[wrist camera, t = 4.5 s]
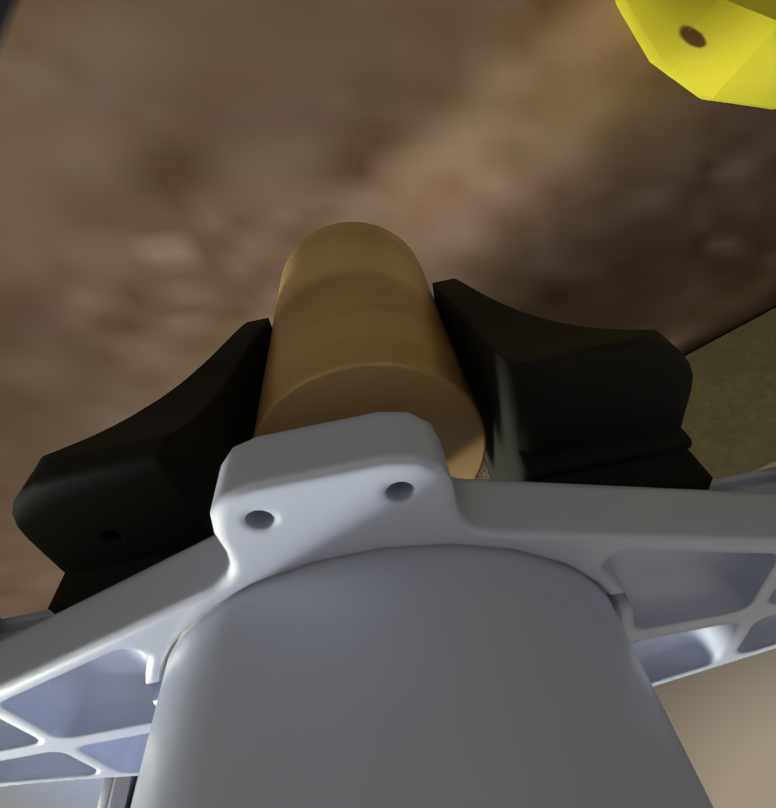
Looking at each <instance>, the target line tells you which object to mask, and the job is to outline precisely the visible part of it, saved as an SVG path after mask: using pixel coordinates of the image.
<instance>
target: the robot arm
mask: <svg viewBox="0 0 776 808" xmlns="http://www.w3.org/2000/svg"><path fill="white" fill-rule="evenodd" d="M433 291H434V299H435V303H436V305H437V308H438V310H439V313H440V315H441V318H442V320H443V323H444V325H445V328H446V330H447V333H448V335H449V337H450V340H451V342H452V345H453V347H454V350H455V352H456V355H457V357H458V360H459V362H460V365H461V367H462V370H463V372H464V374H465V377H466V379H467V382H468V384H469V387H470V389H471V392H472V394H473V397H474V399H475V402H476V404H477V406H478V409H479V411H480V414H481V417H482V419H483V422H484V425H485V431H486V450H485V455H484V460H485V463H486V466H487V469H488V473H489V476H490V479H491V480H479V479H458V478H455V477H452V476H451V475H450V473H449V470H448V466H447V463H446V459H445V456H444V452H443V448H442V445H441V441H440V439H439V438H438V436H437V434H436V432H435V431H434V429H433V427H432V425H431V423H429V422H427V421H425V420H423V419H421V418H419V417H417V416H415V415H413V414H411V413H409V412H375V413H370V414H365V415H360V416H355V417H350V418H345V419H340V420H336V421H331V422H326V423H321V424H316V425H311V426H306V427H301V428H297V429H292V430H287V431H282V432H277V433H272V434H267V435H262V436H258V437H255V438H253V434H254V429H255V423H256V418H257V412H258V406H259V401H260V395H261V389H262V384H263V378H264V372H265V367H266V361H267V356H268V350H269V344H270V339H271V333H272V327H271V324H270V321H269V319H268V318H266V319H261V320H256V321H251V322H247V323H245V324H244V325H243V326H242V327H241V328H239V329H238V330H237V331H236V332H235V333H234V334H233V335H232V336H231V337H230V338H229V339H228V340H227V341H226V342H225V343H224V344H223V345H222V346H221V347H220V348H219V349H218V350H217V351H216V352H215V353H214V354H213V355H212V356H211V357H210V358H209V359H208V360H207V361H206V362H205V363H204V364H203V365H202V366H201V367H199V368H198V369H197V370H196V371H195V372H194V373H193V374H192V375H191V376H189V377H188V378H187V379H186V380H185V381H183V382H182V383H181V384H180V385H178V386H177V387H176V388H174V389H173V390H172V391H170V392H169V393H167V394H166V395H165V396H163V397H162V398H160V399H159V400H157V401H156V402H154V403H152V404H151V405H149V406H148V407H146V408H144V409H143V410H141V411H139V412H138V413H136V414H135V415H133V416H131V417H129V418H128V419H126V420H124V421H122V422H120V423H118V424H116V425H114V426H112V427H110V428H108V429H106V430H104V431H102V432H100V433H98V434H96V435H94V436H92V437H89V438H87V439H85V440H82V441H80V442H77V443H75V444H73V445H70V446H68V447H65V448H63V449H60V450H58V451H55V452H53V453H50V454H48V455H45V456H43V457H42V458H41V459H40V461H39V463H38V464H37V466H36V467H35V469H34V470H33V472H32V473H31V475H30V477H29V478H28V480H27V481H26V483H25V484H24V486H23V487H22V489H21V491H20V492H19V494H18V495H17V497H16V498H15V500H14V501H13V512H12V514H13V516H14V519H15V521H16V524H17V526H18V527H19V529H20V530H21V531H22V532H23V533H24V535H25V536H26V537H27V538H28V539H29V540H30V541H31V542H32V543H33V544H34V545H35V546H36V547H38V548H39V549H40V550H41V551H42V552H43V553H44V554H45V555H46V556H47V557H48V558H49V559H51V560H52V561H53V562H54V563H55V564H56V565H57V566H58V567H59V568H60V569H61V570H63V571H64V572H65V574H64V576H63V578H62V580H61V583H60V585H59V587H58V589H57V591H56V593H55V595H54V597H53V599H52V601H51V603H50V605H49V608H48V609H49V610H46V611H41V612H36V613H31V614H25V615H20V616H15V617H10V618H5V619H1V618H0V787H2V786H11V785H19V784H28V783H41V782H52V781H65V780H80V779H95V778H104V780H103V784H102V788H101V793H100V797H99V802H98V807H97V808H713V806H712V804H711V802H710V800H709V798H708V796H707V794H706V792H705V790H704V788H703V786H702V784H701V782H700V780H699V778H698V776H697V774H696V772H695V770H694V768H693V766H692V764H691V762H690V760H689V758H688V756H687V754H686V752H685V750H684V748H683V746H682V744H681V742H680V740H679V738H678V736H677V734H676V732H675V730H674V728H673V726H672V724H671V722H670V720H669V718H668V716H667V714H666V712H665V710H664V708H663V706H662V704H661V702H660V700H659V698H658V696H657V694H656V692H655V690H654V688H653V686H656V685H659V684H662V683H665V682H668V681H672V680H675V679H678V678H681V677H685V676H687V675H691V674H694V673H697V672H701V671H704V670H707V669H710V668H713V667H717V666H720V665H722V664H726V663H729V662H732V661H736V660H739V659H742V658H745V657H748V656H752V655H755V654H758V653H761V652H764V651H768V650H771V649H774V648H776V467H772V468H767V469H762V470H757V471H751V472H746V473H741V474H736V475H731V476H726V477H721V478H716V479H713V477H712V476H711V475H710V474H709V472H708V471H707V470H706V469H705V468H704V467H703V466H702V464H701V463H700V462H699V461H698V460H697V459H696V457H695V456H694V455H693V454H692V453H691V452H690V451H689V449H688V448H691V445H692V441H691V438H690V437H689V436H688V435H687V433H686V432H685V431H684V430H683V429H682V428H681V426H682V422H683V418H684V415H685V411H686V408H687V404H688V401H689V397H690V393H691V390H692V381H693V373H692V369H691V366H690V363H689V361H688V360H687V359H686V358H685V357H684V355H683V354H682V353H681V352H680V351H679V350H678V349H677V348H676V347H674V346H673V345H672V344H671V343H670V342H669V341H668V340H667V339H666V338H664V337H663V336H662V335H661V334H660V333H659V332H657V331H656V330H630V329H604V328H592V327H584V326H576V325H570V324H565V323H560V322H555V321H551V320H546V319H543V318H539V317H536V316H533V315H529V314H526V313H523V312H521V311H518V310H515V309H513V308H511V307H508V306H506V305H504V304H501V303H499V302H497V301H495V300H493V299H491V298H489V297H487V296H485V295H483V294H482V293H480V292H478V291H476V290H474V289H473V288H471V287H469V286H467V285H466V284H464V283H462V282H460V281H459V280H457V279H450V280H445V281H440V282H435V283H433Z"/></svg>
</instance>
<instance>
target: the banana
mask: <svg viewBox="0 0 776 808" xmlns="http://www.w3.org/2000/svg"><path fill="white" fill-rule="evenodd" d="M615 2H616V5H617V7H618V9H619V10H620V12H621V14H622V15H623V17H624V19H625V20H626V22H627V24H628V26H629V27H630V29H631V31H632V32H633V34H634V36H635V38H636V39H637V41H638V43H639V44H640V46H641V48H642V49H643V51H644V53H645V55H646V56H647V58H648V60H649V61H650V62H651V63H652V64H653V65H655V66H656V67H657V68H659V69H660V70H661V71H663V72H664V73H666V74H667V75H668V76H670V77H671V78H672V79H674V80H675V81H676V82H678V83H679V84H681V85H682V86H683V87H685V88H686V89H687V90H689V91H690V92H692V93H693V94H694V95H696V96H697V97H698V98H700V99H704V100H711V101H718V102H725V103H732V104H739V105H745V106H752V107H759V108H766V109H776V0H615Z"/></svg>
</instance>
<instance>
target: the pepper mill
mask: <svg viewBox="0 0 776 808" xmlns="http://www.w3.org/2000/svg"><path fill="white" fill-rule="evenodd" d="M375 412H409V413H411V414H413V415H415V416H417V417H419V418H421V419H423V420H425V421H427V422H429V423H431V425H432V427H433V429H434V431H435V432H436V434H437V436H438V438H439V439H440V441H441V445H442V448H443V452H444V456H445V459H446V463H447V466H448V470H449V473H450V475H451V476H452V477H455V478H458V479H475V478H476V476H477V474H478V472H479V471H480V468H481V465H482V463H483V460H484V455H485V450H486V431H485V425H484V422H483V419H482V417H481V414H480V411H479V409H478V406H477V404H476V402H475V399H474V397H473V394H472V392H471V389H470V387H469V384H468V382H467V379H466V377H465V374H464V372H463V370H462V367H461V365H460V362H459V360H458V357H457V355H456V352H455V350H454V347H453V345H452V342H451V340H450V337H449V335H448V333H447V330H446V328H445V325H444V323H443V320H442V318H441V315H440V313H439V310H438V308H437V305H436V303H435V301H434V298H433V296H432V293H431V291H430V288H429V286H428V283H427V281H426V278H425V276H424V273H423V271H422V269H421V266H420V264H419V262H418V260H417V258H416V256H415V254H414V253H413V252H412V250H411V249H410V248H409V247H408V246H407V245H406V243H405V242H404V241H403V240H401V239H400V238H399V237H397V236H396V235H395V234H393V233H391V232H390V231H388V230H386V229H384V228H381V227H379V226H376V225H372V224H368V223H361V222H344V223H338V224H333V225H330V226H327V227H324V228H322V229H320V230H317V231H316V232H314V233H312V234H311V235H309V236H308V237H307V238H305V239H304V240H303V241H302V242H301V243H300V244H299V245H298V246H297V247H296V248H295V249H294V251H293V252H292V254H291V255H290V256H289V258H288V260H287V262H286V264H285V266H284V270H283V273H282V277H281V282H280V288H279V294H278V299H277V305H276V310H275V316H274V322H273V327H272V333H271V339H270V344H269V350H268V356H267V361H266V367H265V372H264V378H263V384H262V389H261V395H260V401H259V406H258V412H257V418H256V423H255V429H254V434H253V438H255V437H258V436H262V435H267V434H272V433H277V432H282V431H287V430H292V429H297V428H301V427H306V426H311V425H316V424H321V423H326V422H331V421H336V420H340V419H345V418H350V417H355V416H360V415H365V414H370V413H375Z"/></svg>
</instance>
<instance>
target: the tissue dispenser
mask: <svg viewBox="0 0 776 808" xmlns="http://www.w3.org/2000/svg"><path fill="white" fill-rule="evenodd" d="M684 357H685V358H686V359H687V360H688V361H689V363H690V366H691V369H692V373H693V381H692V390H691V393H690V397H689V401H688V404H687V408H686V411H685V415H684V418H683V422H682V426H681V428H682V429H683V430H684V431H685V432H686V433H687V435H688V436H689V437H690V438H691V441H692V445H691V448H688V449H689V451H690V452H691V453H692V454H693V455H694V456H695V457H696V459H697V460H698V461H699V462H700V463H701V464H702V466H703V467H704V468H705V469H706V470H707V471H708V472H709V474H710V475H711V476H712V477H713V479H716V478H721V477H726V476H731V475H736V474H741V473H746V472H751V471H757V470H762V469H767V468H772V467H776V308H774V309H772V310H770V311H768V312H767V313H765V314H763V315H761V316H759V317H757V318H755V319H753V320H752V321H750V322H748V323H746V324H744V325H742V326H740V327H739V328H737V329H735V330H733V331H731V332H729V333H727V334H725V335H724V336H722V337H720V338H718V339H716V340H714V341H712V342H710V343H709V344H707V345H705V346H703V347H701V348H699V349H697V350H695V351H694V352H692V353H690V354H688V355H686V356H684Z"/></svg>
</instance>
